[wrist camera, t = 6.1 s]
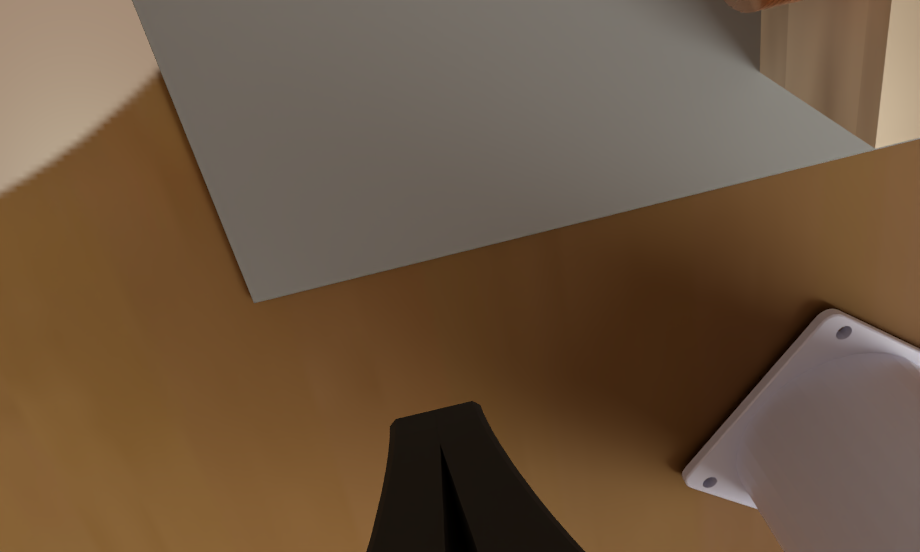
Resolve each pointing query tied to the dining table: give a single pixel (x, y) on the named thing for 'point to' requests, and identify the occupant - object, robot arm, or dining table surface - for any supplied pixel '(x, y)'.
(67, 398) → the dining table surface
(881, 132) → the hitch block
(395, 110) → the mat
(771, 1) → the pin
